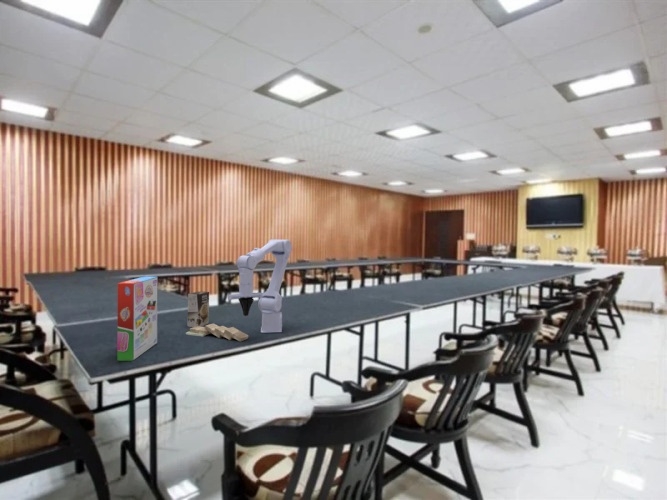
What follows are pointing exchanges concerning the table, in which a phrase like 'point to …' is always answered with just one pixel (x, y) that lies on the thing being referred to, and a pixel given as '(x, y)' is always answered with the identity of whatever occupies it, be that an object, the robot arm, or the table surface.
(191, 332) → the domino
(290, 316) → the table surface
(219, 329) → the domino
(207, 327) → the domino
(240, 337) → the domino
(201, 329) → the domino
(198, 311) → the coffee box
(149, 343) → the game box
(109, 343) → the table surface
